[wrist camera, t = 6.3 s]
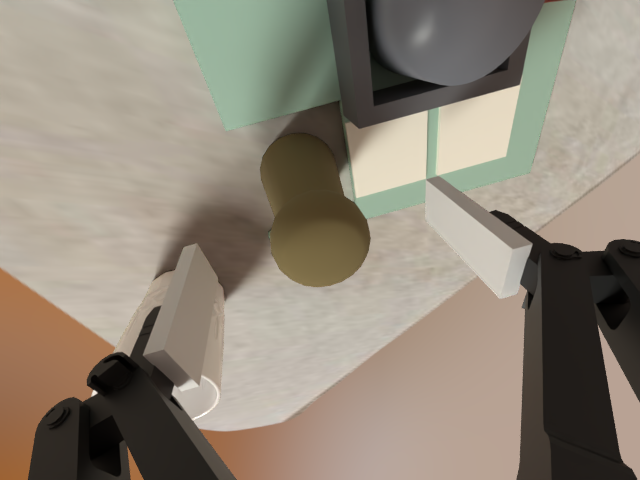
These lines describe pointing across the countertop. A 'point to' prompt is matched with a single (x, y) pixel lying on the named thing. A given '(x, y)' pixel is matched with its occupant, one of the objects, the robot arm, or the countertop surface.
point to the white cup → (210, 384)
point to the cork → (311, 213)
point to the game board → (377, 93)
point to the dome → (447, 36)
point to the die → (551, 1)
